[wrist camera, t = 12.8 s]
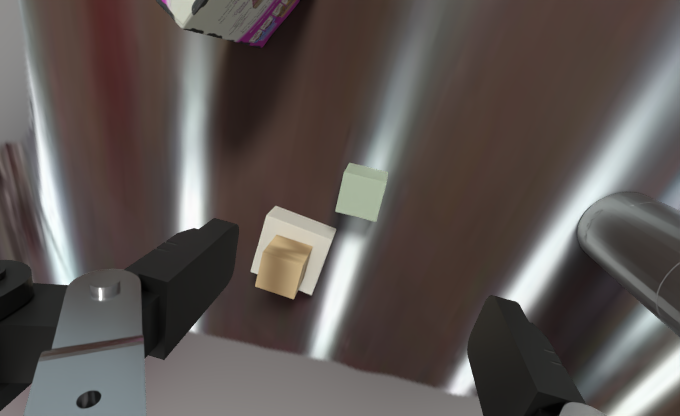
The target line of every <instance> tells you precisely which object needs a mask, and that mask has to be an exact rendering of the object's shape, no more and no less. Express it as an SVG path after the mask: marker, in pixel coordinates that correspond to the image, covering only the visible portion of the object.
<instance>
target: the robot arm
mask: <svg viewBox="0 0 680 416" xmlns="http://www.w3.org/2000/svg"><path fill="white" fill-rule="evenodd" d="M238 235H239V227H238V225H237V224H234V223H231V222H227V221H223V220H220V219H216V218H214V219H212V220H211V221H209V222H208V223H207V224H205V225H204V226H203V227H201V228H200V229H195V228H193V229H190V230H186V231H183V232H180V233H177V234H176V235H174V236H173V237H171V238H170V239H168V240H167V241H166V243H165V242H164V243H163V244H161V245H160V246H158V247H157V249H154V250H152V251H151V252H149V253H148V254H147V255H145V256H144V257H142V258H141V259H139V260H138V261H136V262H135V263H133V264H132V265H130V266H129V267H127V268H126V269H125V270H120V269H104V270H98V271H93V272H90V273H87V274H84V275H82V276H80V277H78V278H76V279H75V280H73V281H72V282H71V283H70V284H69V285H55V284H38V283H33V280H32V272H31V269H30V267H29V266H28V265H26V264H24V263H22V262H18V261H12V260H0V411H1V410H2V409H3V408H4V407H6V405H8V404H9V403H10V402H11V401H12V400H13V399H15V398H16V397H17V396H18V395H19V394H20V393H21V392H22V391H24V390H25V389H26V388H27V387H28V386H29V385H30V384H31V383H32V386H31V389H30V393H29V397H28V400H27V404H26V408H25V411H24V415H23V416H146V390H145V360H144V359H145V358H146V357H147V356H148V355H150V356H153V357H156V358H160V359H163V360H165V358H166V357H167V356H168V355H169V353H170V352H171V351H172V350H173V349H174V347H175V346H176V345H177V344H178V343H179V342H180V340H181V339H182V338H183V337H184V336H185V335H186V333H187V332H188V331H189V330H190V329H191V327H192V326H193V325H194V324H195V323H196V322H197V320H198V319H199V318H200V317H201V316H202V314H203V313H204V312H205V311H206V310H207V309H208V307H209V306H210V305H211V304H212V303H213V301H214V300H215V299H216V298H217V297H218V295H219V294H220V293H221V292H222V291H223V290H224V288H225V287H226V286H227V285H228V283H229V281H230V279H231V277H232V274H233V271H234V266H235V258H236V251H237V243H238ZM577 236H578V241H579V244H580V246H581V248H582V249H583V250H584V252H585V253H586V254H587V255H589V256H590V257H591V258H592V259H593V260H594V261H595V262H596V263H597V264H599V265H600V266H601V267H602V268H603V269H604V270H605V271H606V272H607V273H608V274H609V275H611V276H612V277H613V278H614V279H615V280H616V281H617V282H618V283H619V284H621V285H622V286H623V287H624V288H625V289H626V290H627V291H628V292H629V293H631V294H632V295H633V296H634V297H635V298H636V299H637V300H638V301H639V302H641V303H642V304H643V305H644V306H645V307H646V308H647V309H648V310H649V311H651V312H652V313H653V314H654V315H655V316H656V317H657V318H658V319H660V320H661V321H662V322H663V323H664V324H665V325H666V326H667V327H668V328H670V329H671V330H672V331H673V332H674V333H675V334H676V335H678V336H679V337H680V211H679V210H677V209H675V208H673V207H671V206H668V205H666V204H664V203H662V202H659V201H657V200H655V199H653V198H651V197H648V196H646V195H644V194H640V193H636V192H622V193H616V194H612V195H609V196H606V197H604V198H602V199H600V200H599V201H597V202H596V203H594V204H593V205H592V206H591V207H590V208H589V209H588V210H587V211H586V212H585V213H584V215H583V216H582V218H581V220H580V223H579V225H578V231H577ZM467 351H468V358H469V362H470V366H471V370H472V374H473V377H474V381H475V385H476V389H477V393H478V397H479V401H480V404H481V408H482V412H483V416H606V415H605V414H603V413H602V412H600V411H598V410H596V409H595V408H593V407H590V406H588V405H586V403H585V401H584V400H583V398H582V396H581V394H580V393H579V391H578V389H577V388H576V386H575V384H574V383H573V381H572V379H571V378H570V376H569V374H568V372H567V371H566V369H565V367H563V366H562V362H561V361H560V359H559V357H558V355H557V354H555V350H554V349H553V347H552V345H551V344H550V342H549V340H548V339H547V337H546V336H545V335H544V334H543V333H542V332H541V331H540V330H539V329H538V328H537V327H536V326H535V325H534V324H533V323H529V321H528V319H527V318H526V316H525V314H524V312H523V310H522V309H521V307H520V305H519V304H518V303H517V302H515V301H511V300H507V299H504V298H500V297H497V296H493V295H491V296H489V297H488V298H487V299H486V301H485V303H484V305H483V308H482V310H481V312H480V314H479V316H478V319H477V321H476V323H475V325H474V327H473V330H472V332H471V334H470V337H469V341H468V349H467Z"/></svg>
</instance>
